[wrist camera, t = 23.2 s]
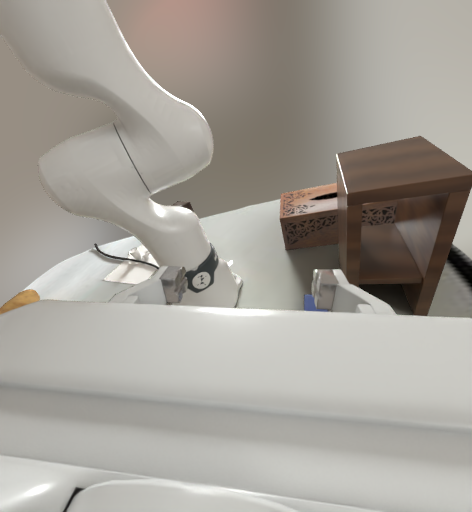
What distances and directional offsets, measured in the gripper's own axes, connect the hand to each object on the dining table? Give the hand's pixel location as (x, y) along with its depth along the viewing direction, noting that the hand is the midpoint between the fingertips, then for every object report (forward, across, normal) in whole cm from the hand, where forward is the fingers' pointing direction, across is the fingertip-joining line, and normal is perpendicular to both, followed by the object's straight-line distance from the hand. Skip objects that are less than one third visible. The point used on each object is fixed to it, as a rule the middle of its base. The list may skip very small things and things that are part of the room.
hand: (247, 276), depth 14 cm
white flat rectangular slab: (+52, +42, +30) cm, 73 cm away
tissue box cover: (+49, -20, +16) cm, 56 cm away
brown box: (+28, -23, +19) cm, 41 cm away
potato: (+33, +74, +40) cm, 90 cm away
